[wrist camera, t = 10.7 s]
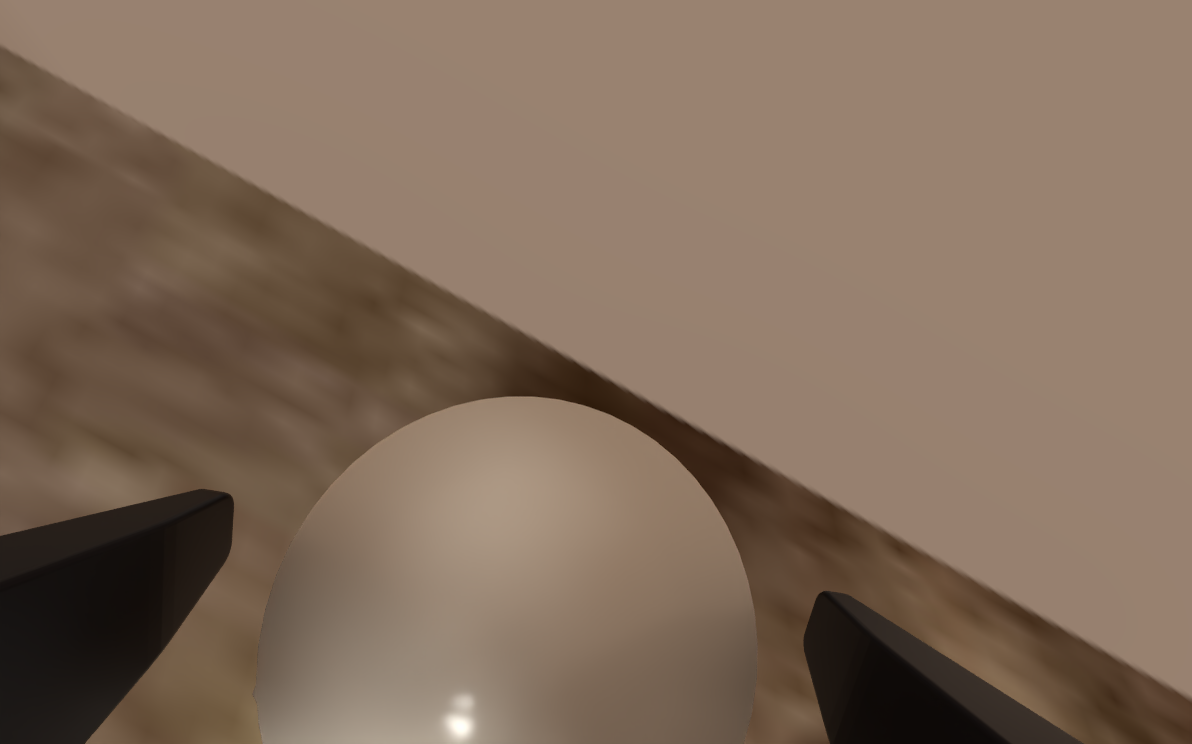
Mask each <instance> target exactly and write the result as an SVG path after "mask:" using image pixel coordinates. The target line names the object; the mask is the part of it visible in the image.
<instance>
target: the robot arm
mask: <svg viewBox="0 0 1192 744" xmlns="http://www.w3.org/2000/svg"><path fill="white" fill-rule="evenodd" d="M233 513H234V501H233V498H232V496H231V495H230V494H228V493H225V492H219V491H213V490H207V489H198V490H194V491H190V492H186V493H181V494H177V495H173V496H168V497H164V498H160V499H156V500H151V501H147V502H143V503H139V504H134V505H130V506H126V507H122V508H117V509H113V510H109V511H105V512H100V513H96V514H92V515H88V516H83V517H79V518H75V519H71V520H66V521H62V522H58V523H54V524H49V525H45V526H41V527H37V528H32V529H28V530H24V531H20V532H15V533H11V534H7V535H3V536H0V744H85V743H86V741H87V740H88V739H89V738H90V737H91V736H92V734H93V733H94V732H95V731H96V730H97V729H98V727H99V726H100V725H101V724H102V723H103V722H104V720H105V719H106V718H107V717H108V716H109V714H110V713H111V712H112V711H113V710H114V709H115V707H116V706H117V705H118V704H119V703H120V702H121V700H122V699H123V698H124V697H125V696H126V694H127V693H128V692H129V691H130V690H131V689H132V687H133V686H134V685H135V684H136V683H137V682H138V680H139V679H140V678H141V677H142V676H143V675H144V673H145V672H146V671H147V670H148V669H149V667H150V666H151V665H152V664H153V662H154V661H155V660H156V659H157V658H158V656H159V655H160V654H161V653H162V651H163V650H164V649H165V647H166V646H167V645H168V643H169V642H170V640H171V639H172V638H173V636H174V635H175V633H176V632H177V631H178V629H179V628H180V626H181V625H182V623H183V622H184V620H185V619H186V618H187V616H188V615H189V613H190V612H191V610H192V609H193V608H194V606H195V605H196V603H197V602H198V600H199V599H200V597H201V596H202V595H203V593H204V592H205V590H206V589H207V587H208V586H209V585H210V583H211V582H212V580H213V579H214V577H215V576H216V574H217V573H218V572H219V570H220V569H221V567H222V566H223V564H224V563H225V561H226V559H227V557H228V555H229V553H230V549H231V544H232V530H233ZM804 652H805V656H806V660H807V663H808V667H809V671H810V674H811V678H812V682H813V685H814V689H815V692H816V696H817V700H818V703H819V707H820V711H821V714H822V718H823V722H824V725H825V729H826V732H827V736H828V739H829V742H830V744H1083V743H1082V742H1080V741H1079V740H1077V739H1075V738H1074V737H1072V736H1071V735H1069V734H1068V733H1066V732H1064V731H1063V730H1061V729H1060V728H1058V727H1056V726H1055V725H1053V724H1052V723H1050V722H1049V721H1047V720H1045V719H1044V718H1042V717H1041V716H1039V715H1038V714H1036V713H1034V712H1033V711H1031V710H1030V709H1028V708H1026V707H1025V706H1023V705H1022V704H1020V703H1019V702H1017V701H1015V700H1014V699H1012V698H1011V697H1009V696H1008V695H1006V694H1004V693H1003V692H1001V691H1000V690H998V689H996V688H995V687H993V686H992V685H990V684H989V683H987V682H985V681H984V680H982V679H981V678H979V677H978V676H976V675H974V674H973V673H971V672H970V671H968V670H966V669H965V668H963V667H962V666H960V665H959V664H957V663H955V662H954V661H952V660H951V659H949V658H948V657H946V656H944V655H943V654H941V653H940V652H938V651H936V650H935V649H933V648H932V647H930V646H929V645H927V644H925V643H924V642H922V641H921V640H919V639H917V638H916V637H914V636H913V635H911V634H910V633H908V632H906V631H905V630H903V629H902V628H900V627H899V626H897V625H895V624H894V623H892V622H891V621H889V620H887V619H886V618H884V617H883V616H881V615H880V614H878V613H876V612H875V611H873V610H872V609H870V608H869V607H867V606H865V605H864V604H862V603H861V602H859V601H857V600H856V599H854V598H853V597H851V596H849V595H847V594H843V593H837V592H831V591H823V592H821V593H820V594H819V595H818V596H817V598H816V601H815V604H814V607H813V610H812V613H811V616H810V619H809V622H808V625H807V628H806V631H805V634H804Z"/></svg>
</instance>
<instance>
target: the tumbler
mask: <svg viewBox="0 0 1192 744" xmlns="http://www.w3.org/2000/svg"><path fill="white" fill-rule="evenodd" d="M756 680H757V634H756V623H755V612H754V607H753V602H752V597H751V592H750V587H749V582H748V579H747V576H746V573H745V570H744V566H743V563H742V560H741V557H740V554H739V551H738V549H737V547H736V545H735V542H734V540H733V538H732V536H731V534H730V531H729V529H728V527H727V525H726V523H725V521H724V520H723V518H722V516H721V515H720V513H719V511H718V510H717V508H716V506H715V505H714V503H713V501H712V500H711V498H710V497H709V496H708V494H707V493H706V492H705V490H704V489H703V488H702V487H701V485H700V484H699V483H698V481H697V480H696V479H695V477H694V476H693V475H692V474H691V473H690V472H689V471H688V470H687V469H686V468H685V467H684V466H683V465H682V464H681V463H680V462H679V461H678V460H677V459H676V458H675V457H674V456H673V455H672V454H671V453H669V452H668V451H667V450H666V449H665V448H663V447H662V446H661V445H660V444H659V443H657V442H656V441H655V440H653V439H652V438H650V437H649V436H647V435H646V434H644V433H643V432H641V431H640V430H638V429H636V428H635V427H633V426H632V425H630V424H628V423H626V422H624V421H622V420H620V419H618V418H616V417H614V416H612V415H609V414H607V413H604V412H601V411H598V410H596V409H593V408H590V407H587V406H584V405H580V404H576V403H572V402H568V401H563V400H558V399H550V398H541V397H499V398H490V399H482V400H477V401H473V402H468V403H464V404H460V405H455V406H452V407H449V408H446V409H444V410H441V411H438V412H435V413H432V414H429V415H427V416H425V417H423V418H421V419H419V420H417V421H415V422H413V423H411V424H408V425H406V426H404V427H402V428H401V429H399V430H397V431H396V432H394V433H393V434H391V435H390V436H388V437H386V438H385V439H383V440H382V441H380V442H379V443H377V444H376V445H374V446H373V447H372V448H371V449H369V450H368V451H367V452H366V453H365V454H363V455H362V456H361V457H360V458H358V459H357V460H356V461H355V462H353V463H352V464H351V465H350V466H349V467H348V468H347V469H346V470H345V471H344V472H343V473H342V474H341V475H340V476H339V477H338V478H337V479H336V481H335V482H334V483H333V484H332V485H331V486H330V487H329V488H328V489H327V491H326V492H325V493H324V494H323V496H322V497H321V498H320V500H319V501H318V502H317V503H316V505H315V506H314V507H313V508H312V510H311V511H310V512H309V514H308V516H307V517H306V519H305V520H304V522H303V524H302V525H301V527H300V529H299V530H298V532H297V534H296V535H295V537H294V539H293V540H292V542H291V544H290V546H289V548H288V550H287V553H286V555H285V557H284V559H283V561H282V564H281V566H280V568H279V570H278V572H277V574H276V578H275V581H274V584H273V587H272V590H271V593H270V596H269V599H268V603H267V606H266V609H265V614H264V619H263V624H262V630H261V635H260V640H259V645H258V659H257V676H256V686H255V689H254V691H253V696H254V699H255V701H256V703H257V706H258V720H259V728H260V732H261V737H262V742H263V744H744V741H745V737H746V733H747V729H748V726H749V722H750V718H751V714H752V708H753V701H754V694H755V687H756Z"/></svg>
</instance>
